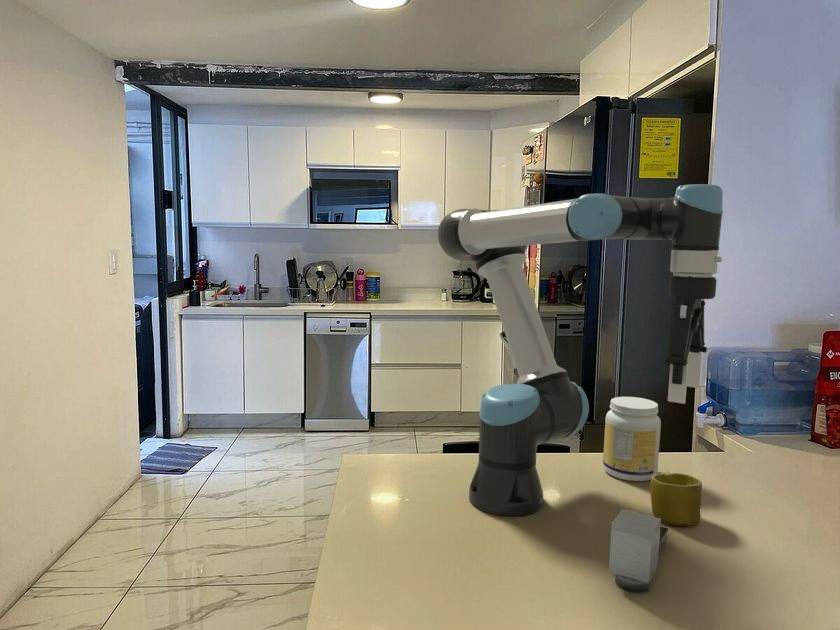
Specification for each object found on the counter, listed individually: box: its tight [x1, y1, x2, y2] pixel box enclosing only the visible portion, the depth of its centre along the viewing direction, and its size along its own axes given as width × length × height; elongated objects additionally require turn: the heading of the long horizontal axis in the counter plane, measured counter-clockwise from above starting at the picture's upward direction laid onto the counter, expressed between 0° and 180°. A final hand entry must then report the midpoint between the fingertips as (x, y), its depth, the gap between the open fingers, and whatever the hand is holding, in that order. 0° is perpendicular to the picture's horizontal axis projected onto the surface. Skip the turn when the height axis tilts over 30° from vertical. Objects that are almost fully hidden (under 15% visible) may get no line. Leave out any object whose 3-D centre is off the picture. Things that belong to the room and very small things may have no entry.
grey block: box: [608, 508, 662, 584], centre depth 98 cm, size 6×6×8 cm
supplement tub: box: [602, 396, 662, 482], centre depth 145 cm, size 12×12×17 cm
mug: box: [649, 470, 703, 527], centre depth 123 cm, size 12×10×10 cm
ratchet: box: [614, 525, 669, 594], centre depth 105 cm, size 21×5×6 cm, turn 147°
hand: (684, 394), depth 112 cm, fingers open, 13 cm apart
